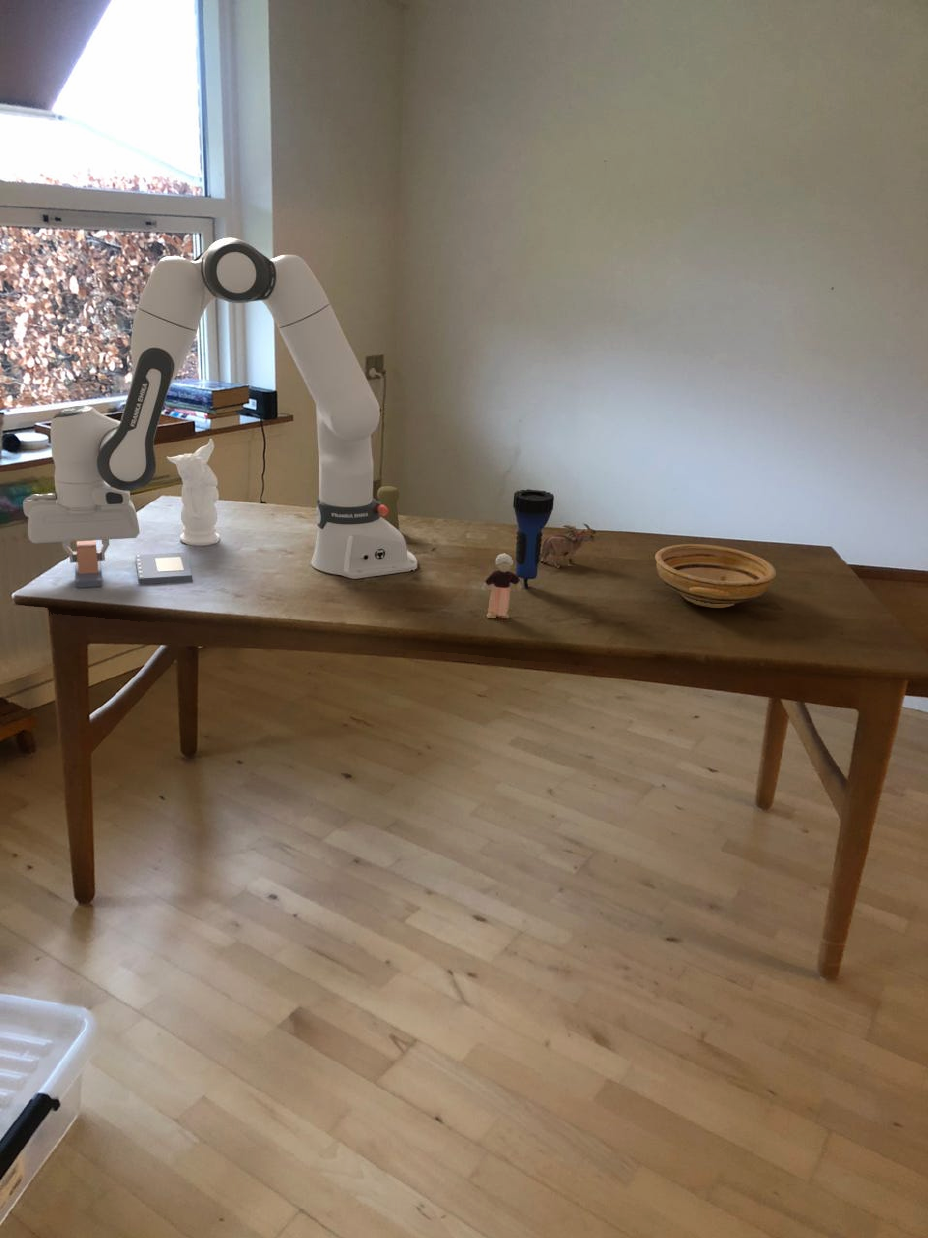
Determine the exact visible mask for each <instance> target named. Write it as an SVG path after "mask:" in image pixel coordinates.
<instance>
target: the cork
mask: <svg viewBox="0 0 928 1238" xmlns="http://www.w3.org/2000/svg"><path fill="white" fill-rule="evenodd" d="M376 497H377V499H378V500H377V501H378V502H380V503H381V504H382V505H385V506H386V507H387V508H388V513H387V515H385V516H381V517H382V518H383V519H385V520H386V521H387V522H389V523H390V524H391V525H392V526H394V527H395V528H396V529H397V530H400V521H399V511H398V500H399V498H400V491H399V490H398V488H397V487H394V486H390V485H387V486H386V485H385V486H381V487H379V488H378V490H377V492H376Z"/></svg>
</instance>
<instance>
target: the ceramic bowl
mask: <svg viewBox="0 0 928 1238" xmlns="http://www.w3.org/2000/svg"><path fill="white" fill-rule="evenodd" d="M654 559H655V561H656V565H655V566H656V570H657V573H658V575H659V577H660V579H661V580H662V582H663V583H664V585H665V586H667V587H668V588H670V589H671V590H673V591H674V592H676V593H678V594H680V595H681V596H682V595H684V596H686V597H688V598H690V599H693V600H696V601H700V602H704V603H710V604H733V603H736V604H737V603H743V602H748V601H752V600H754V599H756V598H758V597H760V596H761V595H763V594H764V593H765V592H766V591H767V590H768V589H769V587H770V585H771V583H772V582H773V579H774V578H775V577H776V574H777V571H776V569H775V567H774V566H773V564H771V563H770V562H769V561H767V560H765V559H763V558H762V557H759V556H756V555H755V554H753V553H749V552H745V551H743V550H739V549H735V548H730V547H726V546H720V545H712V544H698V543H696V544H694V543H688V544H687V543H686V544H676V545H671V546H666V547H664V548H662V549H660V550H658V551H657V552H656V553H655V556H654Z"/></svg>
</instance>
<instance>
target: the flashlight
mask: <svg viewBox="0 0 928 1238" xmlns="http://www.w3.org/2000/svg"><path fill="white" fill-rule="evenodd" d="M554 501H555V496H554V494H553V493H551V492H549V491H548V492H547V491H545V490H538V489H530V488H529V489H521V490H517V491H516V492H514V493H513V504H512V506H513V507H512V508H513V509H514V515H515V517H516V522H517V526H518V528H517V532H516V543H515V545H516V547H515V555H516V557H515V561H516V564H515V565H516V568H515V575H516V576H517V577H518V578H519V579H523V588H524V589H528V588H529V584H528V581H529V580H534V579H536V578H537V576H538V569H539V563H540V562H541V559H540V558H539V557H540V555H541V553H542V541H543V538H542V537H543V532H542V531H543V529H544V528H545V527H546V525H547V524H548V521H549V520H550V518H551V514H552V512H553V511H552V510H553V509H554Z"/></svg>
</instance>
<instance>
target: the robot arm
mask: <svg viewBox="0 0 928 1238" xmlns="http://www.w3.org/2000/svg"><path fill="white" fill-rule="evenodd" d="M219 299H220V300H222V301H226V302H229V303H233V304H245V303H252V302H258V301H261V302H262V303H263V304H264V305H265V306H266V308H267V309H268V311H269V313H270V314H271V316H272V318H273V321H274V323H275V325H276V327H277V329H278V331H279V333H280V335H281V337H282V339H283V342H284V343H285V346H286V347H287V349H288V351H289V354H290V356H291V358H292V359H293V361H294V363H295V366H296V368H297V370H298V371H299V374H300V375H301V377H302V379H303V382H304V383H305V385H306V387H307V389H308V391H309V393H310V395H311V398H312V399H313V401H314V403H315V407H316V409H315V410H316V411H315V412H316V432H317V445H318V462H319V463H318V464H319V468H318V471H319V473H318V474H319V475H318V476H319V477H318V478H319V479H318V481H319V483H318V484H319V485H318V486H319V487H318V488H319V489H318V491H319V492H318V495H319V496H318V498H317V500H316V501H317V502H316V514H315V515H316V524H317V536H316V543H315V546H314V547H315V548H314V553H313V556H312V559H311V561H310V564H311V566H312V567H313V568H314V569H316V570H318V571H320V572H323V573H326V574H332V575H339V576H343V577H346V578H348V579H354V580H355V579H363V578H364V579H365V578H371V577H376V576H377V577H379V576H384V575H386V576H387V575H391V574H398V573H406V572H411V570H413V571H416V570H415V569H418V560H417V558H416V556H415V555H414V554H413V553H411V552H410V551H409V550H408V547H407V542H406V539H405V537H404V534H403V533H402V532H401V531H399V530H400V529H399V530H397V529H396V528H395V527H394V526H392V525H391V524H390V523H389V522H387V521H386V520H385V519H383V518H382V517H381V516H385V515H387V513H388V508H387V507H386V506H385V505H382V504H381V503H380V502H379V500H376V499H375V498H373V494H374V493H373V491H374V460H373V449H372V448H373V447H372V437H371V436H372V435H373V434H374V432H375V431H376V430H377V427H378V425H379V421H380V416H381V415H380V412H381V410H380V405H379V402H378V400H377V397H376V396H375V393H374V391H373V390H372V386H371V385H370V383H369V381H368V379H367V376H366V375H365V373H364V371H363V369H362V367H361V366H360V363H359V361H358V359H357V357H356V355H355V353H354V352H353V350H352V347H351V346H350V344H349V341H348V339H347V337H346V336H345V333H344V330H343V329H342V327H341V324H340V322H339V320H338V317H337V315H336V314H335V311H334V309H333V307H332V305H331V303H330V301H329V298H328V296H327V294H326V293H325V291H324V289H323V287H322V285H321V283H320V282H319V280H318V279H317V277H316V275H315V273H314V272H313V271H312V269H311V268H310V266H309V265H308V263H307V262H306V261H305V259H303V258H302V257H301V256H298V255H296V254H282V255H278V256H277V257H276V256H275V258H271V259H270V258H268V257H267V256H265V254H263V253H261V252H260V251H259V250H258V249H257V248H255V247H254V246H252V245H250V243H248V242H246V241H244V240H242V239H239V238H236V237H225V238H221V239H219V240H216V241H214V242H213V243H212V244H211V245H209V246H208V247H207V248H206V249H205V250H204V251H203V252H202V253H201V254H199V255H198V256H197V257H196V258H194V259H193V260H190V259H188V258H184V257H182V256H174V255H172V256H165V257H163V258H161V259H160V260H159V261H157V263H156V265H155V266H154V268H153V269H152V271H151V272H150V275H149V277H148V279H147V281H146V284H145V286H144V288H143V290H142V293H141V296H140V299H139V302H138V304H137V308H136V309H135V310H136V311H135V314H134V319H133V323H132V330H131V337H130V338H131V339H130V352H131V362H132V363H131V370H132V371H131V372H132V373H131V374H132V375H131V381H130V382H131V383H130V387H129V391H128V394H127V397H126V400H125V404H124V407H123V411H122V414H121V418H120V420H118V419H114V418H112V417H109V416H107V415H106V414H102V413H101V412H99V411H98V410H96V409H95V407H92V406H88V405H77V406H72V407H71V406H70V407H67V408H64V409H61V410H59V411H58V412H57V413H56V414H54V416H53V417H52V419H51V421H50V447H51V448H50V450H51V456H52V460H53V461H54V465H55V472H54V485H55V493H42V494H37V493H34V494H30V496H28V497H26V498H25V499H24V500H23V502H22V507H23V513H24V516H26V517H27V518H28V520H27V534H28V535H27V537H28V540H29V541H30V542H31V543H33V544H43V543H44V544H45V543H61V546H62V549H64V551H65V552H66V553H67V554H68V555H69V561H70V562H69V563H70V564H72V563H73V564H74V563H76V562H78V558H77V550H76V551H73V550H72V548H71V542H77V541H94V540H96V541H101V545H102V546H101V548H100V549H97V550H96V551H97V561H101V562H105V561H106V557H105V556H106V555H105V553H106V552H107V550H108V548H109V546H110V540H124V539H127V540H128V539H136V538H137V537H139V535H140V534H141V533H140V524H139V519H138V514H137V511H136V507H135V505H134V502H133V501H132V500H131V493H130V492H131V491H132V492H133V491H137V490H140V489H143V488H145V486H147V485H149V483H150V482H151V481H152V480H153V478H154V476H155V474H156V469H157V468H156V467H157V465H156V455H155V451H154V442H155V436H156V433H157V429H158V425H159V422H160V419H161V416H162V412H163V409H164V406H165V402H166V400H167V396H168V393H169V391H170V388H171V386H172V384H173V382H174V381H175V379H176V376H177V375H178V373H179V372H180V369H181V367H182V366H183V364H184V362H185V360H186V358H187V357H188V355H189V352H190V350H191V348H192V346H193V344H194V342H195V339H196V335H197V332H198V330H199V327H200V323H201V320H202V317H203V314H204V312H205V309H206V308H207V307H208V305H209V304H210V303H211V302H213V301H214V300H219Z"/></svg>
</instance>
